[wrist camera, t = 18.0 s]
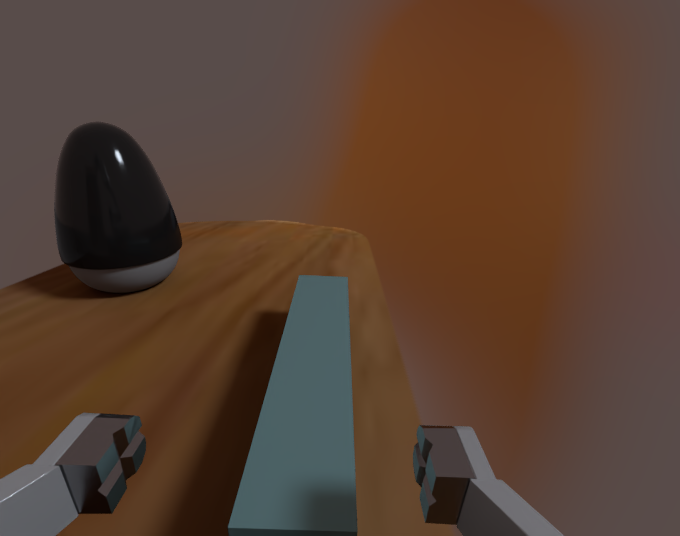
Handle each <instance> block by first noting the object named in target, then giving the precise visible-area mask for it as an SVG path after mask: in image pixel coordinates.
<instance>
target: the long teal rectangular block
mask: <svg viewBox="0 0 680 536" xmlns="http://www.w3.org/2000/svg"><path fill="white" fill-rule="evenodd" d="M228 533H229V536H357V510H356V484H355V458H354V432H353V406H352V380H351V354H350V328H349V302H348V277H333V276H308V275H299V279H298V282H297V286H296V289H295V293H294V296H293V300H292V303H291V307H290V310H289V314H288V317H287V321H286V324H285V328H284V331H283V335H282V338H281V342H280V345H279V349H278V353H277V356H276V360H275V363H274V367H273V370H272V374H271V377H270V381H269V384H268V388H267V391H266V395H265V398H264V402H263V405H262V409H261V412H260V416H259V419H258V423H257V426H256V430H255V433H254V437H253V441H252V444H251V448H250V451H249V455H248V458H247V462H246V465H245V469H244V472H243V476H242V479H241V483H240V486H239V490H238V493H237V497H236V500H235V504H234V507H233V511H232V514H231V518H230V521H229V525H228Z"/></svg>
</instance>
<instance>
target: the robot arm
mask: <svg viewBox="0 0 680 536" xmlns="http://www.w3.org/2000/svg"><path fill="white" fill-rule="evenodd" d="M141 426H142V424H141V421H140V417H139V416H132V415H116V414H96V413H82V414H80V415H79V416H77V417H76V418H75V419H74V420H73V421H72V422H71V423H70V424H69V425H68V426H67V427H66V429H65V430H64V431H63V432H62V433H61V434H60V435H59V436H58V437H57V438H56V439H55V441H54V442H53V443H52V444H51V445H50V446H49V447H48V448H47V449H46V450H45V451H44V452H43V454H42V455H41V456H40V457H39V458H38V459H37V460H36V461H35V462H34V463H33V464H32V465H25V466H23V467H21V468H20V469H18V470H16V471H14V472H13V473H11V474H9V475H7V476H6V477H4V478H2V479H0V536H55V535H57V534H58V533H59V532H60V531H61V530H62V529H64V528H65V527H66V526H67V525H68V524H69V523H71V522H72V521H73V520H74V519H75V518H76V517H78V514H112V513H113V511H114V509H115V508H116V506H117V504H118V503H119V501H120V499H121V498H122V496H123V494H124V492H125V491H126V489H127V485H126V480H127V479H128V478H130V477H131V476H132V475H134V474H135V473H136V472H137V470H138V469H139V467H140V465H141V463H142V461H143V458H144V455H145V451H146V441H145V436H143V435H142V434H141V433H140V432H139V431H138V430H139V429H140V427H141ZM417 439H418V443H417V444H416V445H415V446H414V452H413V467H414V474H415V479H416V482H417V483H418V484H419V485H420V486H421V493H420V502H421V506H422V510H423V515H424V519H425V523H435V524H451V525H457V528H458V529H459V530H460V532H461V533H462V535H463V536H564V535H563V534H561V533H560V532H559V531H558V530H557V529H556V528H555V527H554V526H553V525H551V524H550V523H549V522H548V521H547V520H546V519H545V518H544V517H543V516H541V515H540V514H539V513H538V512H537V511H536V510H535V509H534V508H532V507H531V506H530V505H529V504H528V503H527V502H526V501H525V500H523V499H522V498H521V497H520V496H519V495H518V494H517V493H516V492H515V491H513V490H512V489H511V488H510V487H509V486H508V485H507V484H506V483H504V482H503V481H502V480H496V478H495V476H494V474H493V471H492V469H491V467H490V465H489V463H488V460H487V458H486V456H485V454H484V452H483V449H482V447H481V445H480V443H479V441H478V438H477V436H476V434H475V432H474V430H473V429H472V428H471V427H463V426H430V425H429V426H428V425H419V427H418V430H417Z"/></svg>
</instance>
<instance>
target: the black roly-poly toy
mask: <svg viewBox="0 0 680 536" xmlns="http://www.w3.org/2000/svg"><path fill="white" fill-rule="evenodd" d="M54 205H55V207H54V212H55V228H56V238H57V245H58V250H59V254H60V257H61V260H62V261H63V262H64V263H65V264H66V265H68V266H69V267H70V269H71V271H72V272H73V273H74V274H75V276H76V277H77V278H78V279H79V280H81V281H82V282H83V283H85V284H86V285H88V286H90V287H92V288H94V289H97V290H101V291H105V292H113V293H127V292H134V291H139V290H143V289H146V288H149V287H151V286H154V285H156V284H158V283H159V282H161V281H162V280H164V279H165V278H166V277H168V276H169V275H170V273H171V272H172V271H173V269H174V268H175V266H176V264H177V261H178V257H179V249H180V248H181V247H182V238H181V233H180V229H179V225H178V222H177V219H176V216H175V213H174V210H173V208H172V205H171V202H170V200H169V197H168V195H167V193H166V191H165V189H164V186H163V184H162V182H161V180H160V178H159V176H158V174H157V172H156V170H155V168H154V167H153V165H152V163H151V161H150V160H149V158H148V156H147V155H146V153H145V152H144V151H143V149H142V148H141V147H140V145H139V144H138V143H137V142H136V141H135V139H134V138H133V137H132V136H131V135H130V134H128V133H127V132H126V131H124V130H123V129H121V128H119V127H117V126H114V125H112V124H108V123H103V122H90V123H86V124H83V125H81V126H79V127H77V128H75V129H74V130H73V131H72V132H71V133H70V134H69V135H68V137H67V139H66V141H65V143H64V145H63V147H62V150H61V153H60V157H59V161H58V166H57V172H56V183H55V203H54Z"/></svg>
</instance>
